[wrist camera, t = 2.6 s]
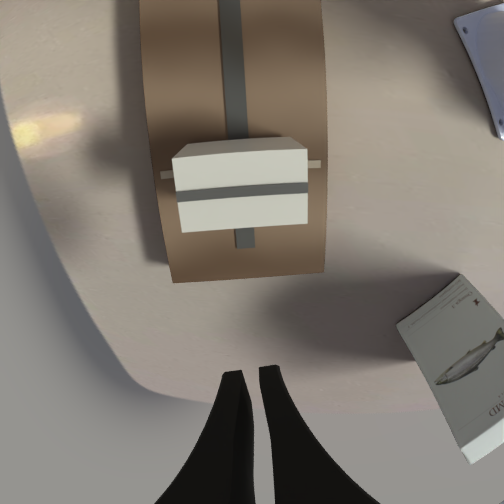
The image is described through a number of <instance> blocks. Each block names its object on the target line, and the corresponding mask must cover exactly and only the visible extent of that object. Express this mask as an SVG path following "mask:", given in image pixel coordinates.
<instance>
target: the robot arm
mask: <svg viewBox="0 0 504 504" xmlns="http://www.w3.org/2000/svg"><path fill="white" fill-rule="evenodd" d="M454 25H455V27H456V29H457V31H458V33H459V35H460V37H461V39H462V41H463V43H464V46H465V48H466V50H467V52H468V54H469V56H470V59H471V61H472V63H473V66H474V68H475V71H476V73H477V75H478V78H479V81H480V83H481V86H482V88H483V91H484V94H485V97H486V100H487V102H488V105H489V108H490V111H491V115H492V118H493V121H494V124H495V128H496V131H497V135H498V138H499V139H500V140H503V141H504V3H501V4H498V5H494V6H491V7H488V8H484V9H481V10H478V11H475V12H472V13H469V14H466V15H463V16H460V17H457V18H455V19H454ZM463 29H464V30H465V33H464V32H463ZM499 120H500V124H499ZM259 382H260V389H261V394H262V398H263V403H264V408H265V413H266V418H267V423H268V427H269V432H270V439H271V449H272V461H273V476H274V490H275V504H380V503H379V502H378V501H376V500H375V499H374V498H372V497H371V496H370V495H369V494H367V493H366V492H365V491H364V490H363V489H362V488H361V487H359V485H358V484H356V483H355V482H354V481H353V480H352V479H351V478H350V477H349V476H348V475H347V474H346V473H345V472H344V471H343V470H342V469H341V468H340V466H339V465H338V464H337V463H336V462H335V461H334V460H333V459H332V458H331V456H330V455H329V454H328V453H327V452H326V451H325V449H324V448H323V447H322V446H321V444H320V443H319V442H318V440H317V439H316V438H315V436H314V435H313V433H312V432H311V431H310V429H309V427H308V426H307V425H306V423H305V422H304V420H303V418H302V417H301V415H300V413H299V411H298V410H297V408H296V406H295V404H294V402H293V401H292V399H291V397H290V395H289V393H288V390H287V388H286V386H285V383H284V381H283V378H282V375H281V372H280V367H279V366H278V365H270V366H264V367H259ZM253 467H254V421H253V411H252V402H251V399H250V396H249V392H248V389H247V386H246V383H245V379H244V376H243V373H242V370H237V371H229V372H225V373H224V374H223V375H222V379H221V383H220V387H219V390H218V393H217V396H216V399H215V402H214V405H213V407H212V410H211V412H210V415H209V417H208V420H207V422H206V425H205V427H204V429H203V431H202V433H201V435H200V437H199V439H198V441H197V443H196V445H195V447H194V449H193V451H192V452H191V454H190V456H189V457H188V459H187V461H186V463H185V464H184V466H183V467H182V469H181V470H180V472H179V473H178V475H177V476H176V477H175V479H174V480H173V482H172V483H171V485H170V486H169V487H168V488H167V489H166V491H165V492H164V493H163V494H162V495H161V497H160V498H159V499H158V500H157V501H156V502H155V504H256V503H255V494H254V481H253V480H254V479H253ZM500 504H504V501H502V502H501V503H500Z"/></svg>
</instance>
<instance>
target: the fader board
mask: <svg viewBox="0 0 504 504" xmlns="http://www.w3.org/2000/svg"><path fill="white" fill-rule="evenodd" d="M139 12H140V40H141V58H142V73H143V86H144V97H145V108H146V117H147V127H148V135H149V144H150V152H151V159H152V167H153V174H154V181H155V187H156V194H157V200H158V207H159V213H160V218H161V224H162V230H163V236H164V241H165V246H166V252H167V257H168V262H169V267H170V272H171V277H172V281H173V283H185V282H201V281H216V280H231V279H245V278H259V277H272V276H284V275H297V274H309V273H321V272H324V262H325V242H326V218H327V172H328V136H327V92H326V68H325V50H324V36H323V22H322V11H321V0H139ZM269 137H291V138H293V139H294V140H295V141H297V142H298V143H300V144H301V145H302V146H304V147H305V148H307V159H308V224H294V225H278V226H264V227H249V228H236V229H222V230H209V231H197V232H185V233H182V229H181V223H180V216H179V209H178V203H177V199H176V188H175V180H174V172H173V164H172V158H173V157H174V156H175V155H176V154H177V153H178V152H179V151H180V150H181V149H182V148H184V147H185V146H186V145H187V144H192V143H201V142H212V141H223V140H236V139H251V138H269Z"/></svg>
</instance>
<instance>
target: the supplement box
mask: <svg viewBox="0 0 504 504" xmlns="http://www.w3.org/2000/svg"><path fill="white" fill-rule="evenodd" d="M396 327H397V329H398V331H399V333H400V335H401V337H402V338H403V340H404V342H405V343H406V345H407V347H408V349H409V350H410V352H411V354H412V355H413V357H414V359H415V361H416V362H417V364H418V366H419V368H420V370H421V371H422V373H423V375H424V377H425V379H426V381H427V382H428V384H429V386H430V388H431V390H432V392H433V394H434V396H435V398H436V400H437V402H438V404H439V406H440V408H441V411H442V412H443V415H444V416H445V419H446V421H447V423H448V425H449V427H450V429H451V431H452V434H453V436H454V438H455V440H456V442H457V444H458V446H459V448H460V450H461V451H462V453H463V455H464V457H465V458H466V460H467V462H468V463H469V464H473V463H474V462H476V461H477V460H479V459H480V458H482V457H483V456H485V455H486V454H488V453H489V452H491V451H492V450H494V449H495V448H496V447H498V446H499V445H500V444H502V443H503V442H504V319H503V318H502V317H501V316H500V314H499V313H498V312H497V311H496V310H495V309H494V308H493V307H492V306H491V304H490V303H489V302H488V301H487V300H486V299H485V298H484V297H483V296H482V295H481V293H480V292H479V291H478V290H477V289H476V288H475V287H474V286H473V285H472V284H471V283H470V282H469V281H468V280H467V279H466V278H465V277H464V276H463V275H462V274H460V275H459V276H458V277H457V278H456V279H455V280H454V281H453V282H452V283H450V284H449V285H448V286H447V287H446V288H445V289H443V290H442V291H441V292H440V293H438V294H437V295H436V296H435V297H433V298H432V299H431V300H429V301H428V302H427V303H425V304H424V305H423V306H422V307H420V308H419V309H417V310H416V311H415V312H413V313H412V314H411V315H409V316H408V317H406V318H405V319H403V320H402V321H400V322H399V323H397V324H396Z"/></svg>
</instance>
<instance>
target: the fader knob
mask: <svg viewBox="0 0 504 504" xmlns="http://www.w3.org/2000/svg"><path fill="white" fill-rule="evenodd" d="M172 164H173V172H174V180H175V188H176V199H177V203H178V209H179V216H180V223H181V229H182V233H185V232H197V231H209V230H222V229H236V228H249V227H264V226H278V225H294V224H308V159H307V148H305V147H304V146H302V145H301V144H300V143H298V142H297V141H295V140H294V139H293V138H291V137H269V138H251V139H236V140H223V141H212V142H201V143H192V144H187V145H186V146H185V147H184V148H182V149H181V150H180V151H179V152H178V153H177V154H176V155H175V156H174V157H173V158H172Z"/></svg>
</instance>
